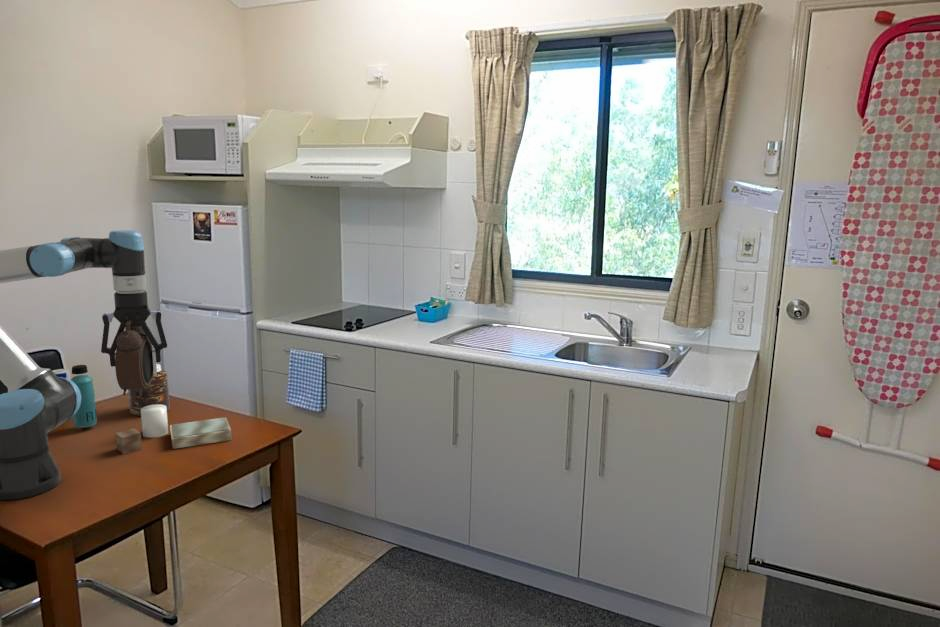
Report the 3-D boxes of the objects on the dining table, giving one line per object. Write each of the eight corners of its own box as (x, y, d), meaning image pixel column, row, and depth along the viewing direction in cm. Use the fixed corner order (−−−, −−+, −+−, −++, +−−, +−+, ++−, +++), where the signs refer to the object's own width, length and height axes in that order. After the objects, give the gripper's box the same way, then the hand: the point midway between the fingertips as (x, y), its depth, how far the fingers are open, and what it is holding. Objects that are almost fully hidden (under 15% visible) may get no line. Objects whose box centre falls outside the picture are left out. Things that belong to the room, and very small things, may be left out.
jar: (164, 402, 224) (161, 360, 222) (173, 411, 216) (170, 368, 213) (126, 408, 217) (123, 365, 214) (134, 418, 208) (130, 374, 205)
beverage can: (49, 418, 208) (44, 373, 205) (61, 412, 213) (56, 368, 210) (67, 418, 208) (62, 373, 205) (78, 412, 213) (73, 368, 210)
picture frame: (172, 448, 185) (171, 438, 185) (170, 434, 196) (169, 424, 195) (231, 439, 193) (231, 429, 192) (226, 426, 203) (226, 416, 202)
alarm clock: (146, 399, 166) (141, 323, 162) (115, 401, 165) (109, 324, 161) (159, 382, 180) (154, 312, 176) (131, 383, 178) (125, 312, 175)
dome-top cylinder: (142, 439, 192) (140, 413, 191) (142, 431, 198) (140, 406, 197) (168, 435, 195) (166, 410, 194) (167, 427, 201) (165, 403, 200)
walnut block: (123, 454, 181) (121, 437, 180) (116, 449, 185) (115, 432, 184) (142, 449, 185) (140, 432, 184) (135, 444, 188) (133, 428, 187)
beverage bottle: (87, 433, 196) (80, 369, 192) (68, 431, 197) (61, 368, 193) (103, 425, 202) (97, 363, 198) (84, 423, 203) (77, 362, 199)
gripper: (82, 295, 159) (90, 384, 164) (175, 291, 168) (181, 375, 173) (84, 290, 166) (92, 376, 170) (173, 286, 175) (179, 368, 179)
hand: (137, 375), depth 171 cm, fingers closed on alarm clock, 8 cm apart
